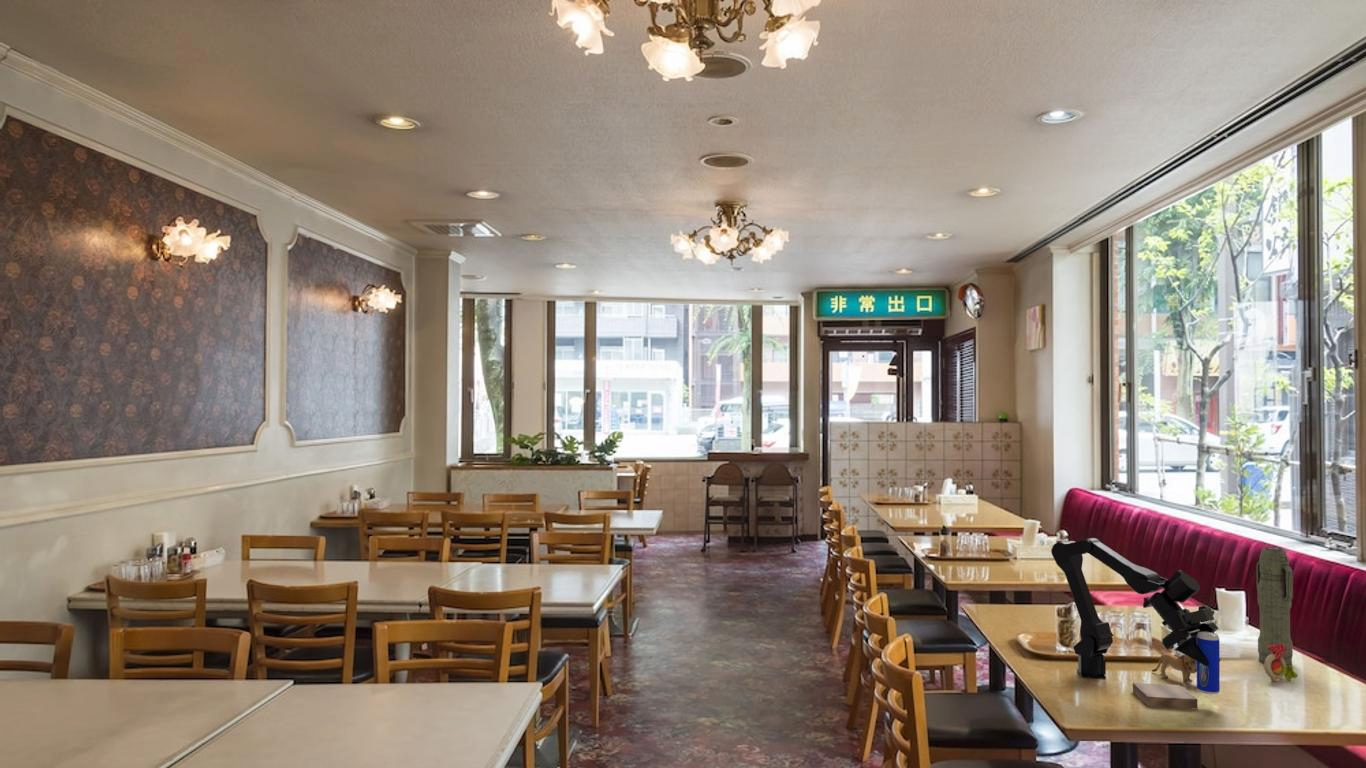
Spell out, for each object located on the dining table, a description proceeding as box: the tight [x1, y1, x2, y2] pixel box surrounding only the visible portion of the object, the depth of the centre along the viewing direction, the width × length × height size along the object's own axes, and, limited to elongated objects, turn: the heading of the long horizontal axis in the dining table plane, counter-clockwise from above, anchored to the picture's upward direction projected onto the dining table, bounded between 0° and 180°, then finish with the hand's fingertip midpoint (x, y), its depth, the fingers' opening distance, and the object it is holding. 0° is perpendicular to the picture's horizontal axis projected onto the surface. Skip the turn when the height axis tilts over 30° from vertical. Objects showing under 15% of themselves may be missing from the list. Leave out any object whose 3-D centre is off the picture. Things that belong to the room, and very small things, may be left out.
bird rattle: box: [1263, 643, 1299, 683], centre depth 258 cm, size 6×11×9 cm
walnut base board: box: [1132, 682, 1198, 709], centre depth 240 cm, size 12×12×2 cm
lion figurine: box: [1151, 652, 1197, 685], centre depth 259 cm, size 15×5×9 cm, turn 36°
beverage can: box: [1196, 632, 1221, 695], centre depth 235 cm, size 5×5×15 cm
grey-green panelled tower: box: [1255, 546, 1294, 666], centre depth 277 cm, size 9×12×35 cm
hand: (1213, 663), depth 234 cm, fingers closed on beverage can, 5 cm apart
